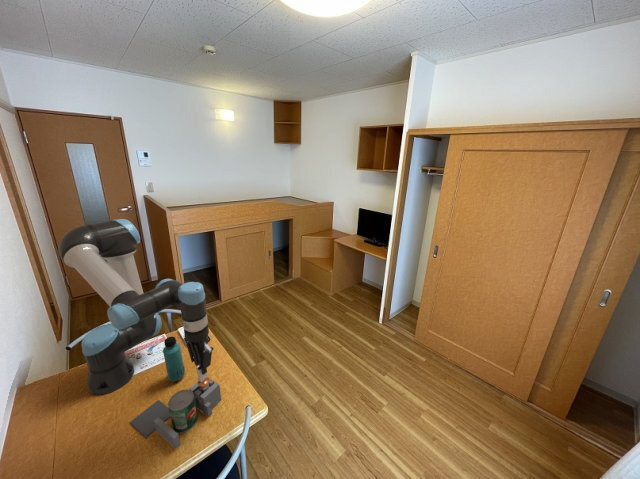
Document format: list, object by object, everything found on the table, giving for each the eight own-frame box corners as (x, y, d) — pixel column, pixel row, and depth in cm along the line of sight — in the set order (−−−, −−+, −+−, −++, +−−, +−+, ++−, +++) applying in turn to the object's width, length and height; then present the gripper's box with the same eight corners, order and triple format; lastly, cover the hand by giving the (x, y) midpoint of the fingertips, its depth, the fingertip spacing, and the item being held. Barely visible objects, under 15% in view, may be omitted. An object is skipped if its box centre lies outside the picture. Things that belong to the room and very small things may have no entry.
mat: (130, 423, 91) (129, 421, 90) (158, 400, 99) (158, 399, 99) (146, 438, 86) (145, 437, 86) (174, 413, 94) (174, 412, 94)
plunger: (197, 396, 97) (195, 383, 95) (206, 388, 101) (204, 375, 98) (204, 401, 96) (202, 388, 93) (213, 393, 99) (212, 380, 97)
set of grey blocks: (156, 431, 88) (152, 414, 86) (205, 388, 105) (202, 373, 102) (176, 449, 83) (172, 431, 81) (224, 401, 100) (222, 386, 97)
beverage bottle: (178, 385, 105) (171, 346, 99) (164, 382, 107) (156, 343, 100) (189, 373, 112) (183, 335, 105) (175, 370, 113) (168, 332, 106)
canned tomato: (170, 419, 92) (165, 397, 89) (194, 407, 97) (190, 385, 93) (175, 438, 86) (170, 414, 83) (200, 424, 91) (196, 401, 88)
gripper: (173, 325, 88) (182, 378, 95) (198, 339, 82) (206, 394, 90) (193, 314, 94) (200, 364, 102) (218, 326, 88) (223, 379, 96)
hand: (202, 378), depth 96 cm, fingers closed
